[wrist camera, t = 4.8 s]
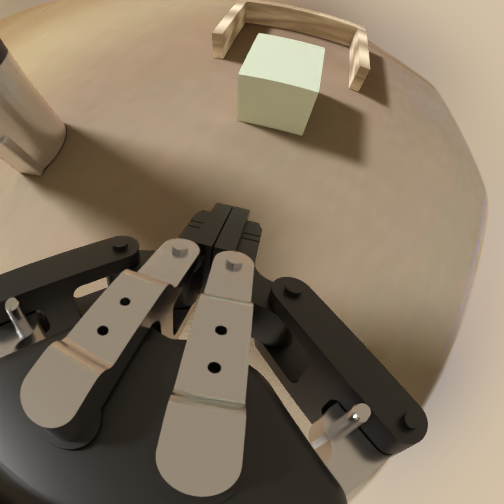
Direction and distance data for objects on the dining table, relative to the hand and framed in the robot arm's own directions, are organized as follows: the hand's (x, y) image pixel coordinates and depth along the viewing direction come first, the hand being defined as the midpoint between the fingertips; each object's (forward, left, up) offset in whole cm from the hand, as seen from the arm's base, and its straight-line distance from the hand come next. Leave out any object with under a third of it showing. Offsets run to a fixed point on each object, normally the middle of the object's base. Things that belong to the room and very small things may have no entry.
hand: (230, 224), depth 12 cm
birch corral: (+36, 0, -14) cm, 39 cm away
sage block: (+22, 0, -15) cm, 26 cm away
